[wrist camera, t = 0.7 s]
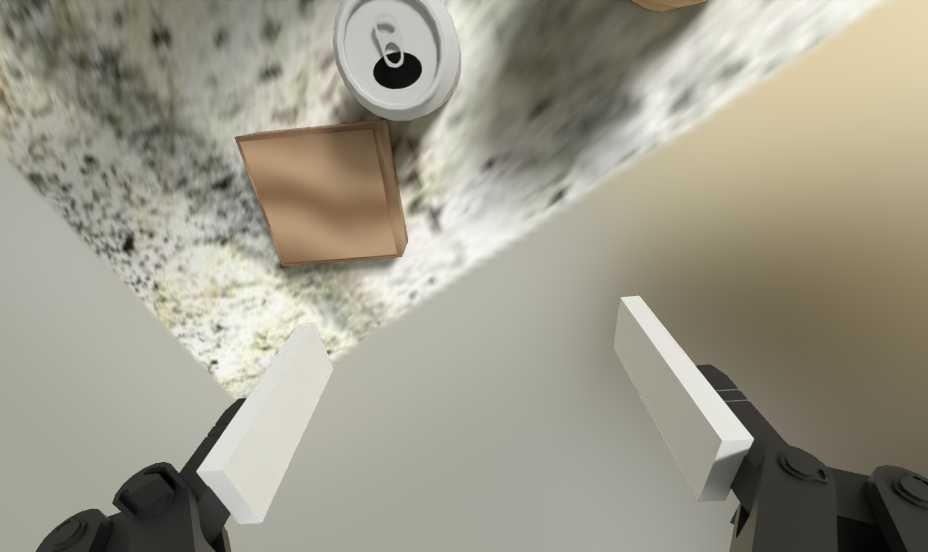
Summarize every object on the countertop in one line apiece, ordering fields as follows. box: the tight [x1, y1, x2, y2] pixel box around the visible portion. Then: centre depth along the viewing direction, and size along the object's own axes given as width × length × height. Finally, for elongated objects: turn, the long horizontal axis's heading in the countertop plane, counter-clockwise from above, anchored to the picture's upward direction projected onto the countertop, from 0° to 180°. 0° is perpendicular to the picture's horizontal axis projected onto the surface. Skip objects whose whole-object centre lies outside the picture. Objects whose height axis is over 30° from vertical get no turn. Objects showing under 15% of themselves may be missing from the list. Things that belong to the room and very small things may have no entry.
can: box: [333, 0, 461, 121], centre depth 25 cm, size 8×8×12 cm
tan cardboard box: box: [235, 120, 408, 266], centre depth 33 cm, size 12×12×4 cm
